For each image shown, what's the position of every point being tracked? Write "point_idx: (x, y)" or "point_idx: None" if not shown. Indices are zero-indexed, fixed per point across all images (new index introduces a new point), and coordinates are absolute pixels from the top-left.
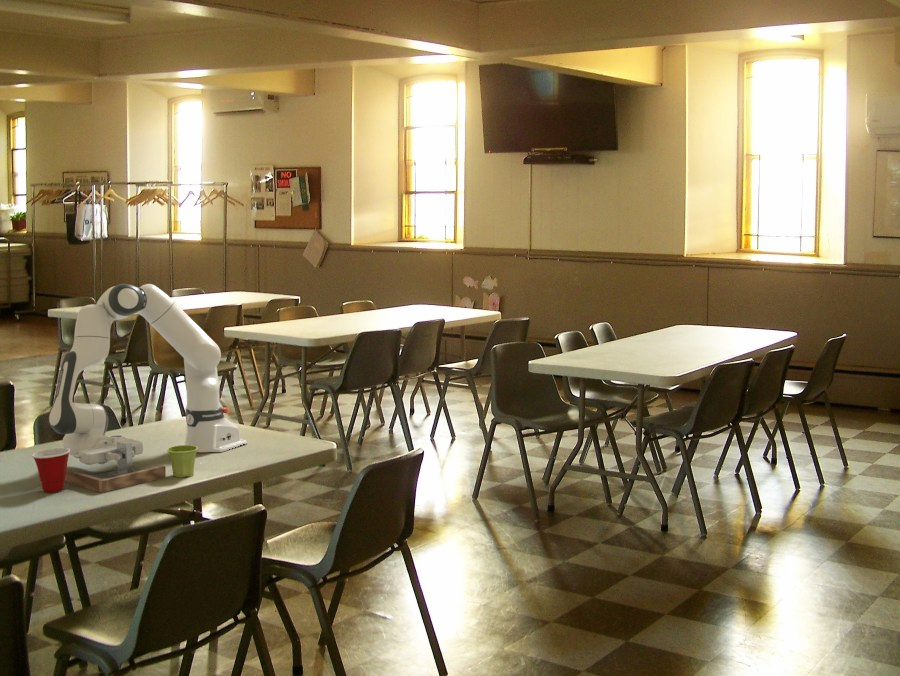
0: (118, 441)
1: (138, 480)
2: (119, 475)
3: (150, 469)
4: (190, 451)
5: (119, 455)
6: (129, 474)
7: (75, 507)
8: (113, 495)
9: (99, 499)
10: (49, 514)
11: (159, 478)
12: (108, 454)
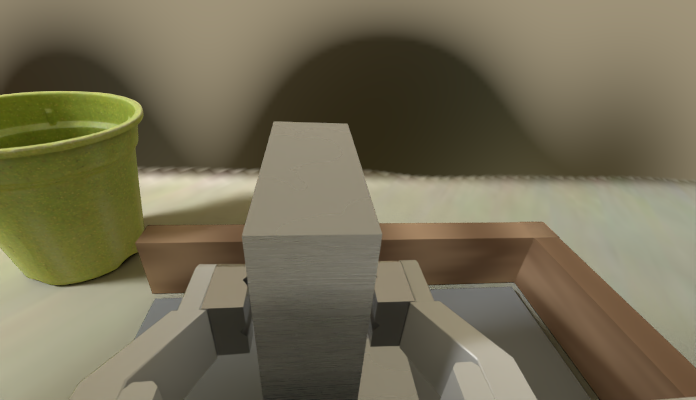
0: (343, 226)
1: None
2: (391, 349)
3: None
4: (98, 94)
5: (393, 262)
6: (388, 225)
7: (617, 206)
8: (484, 222)
9: (538, 218)
10: (691, 204)
11: None
12: (502, 360)
